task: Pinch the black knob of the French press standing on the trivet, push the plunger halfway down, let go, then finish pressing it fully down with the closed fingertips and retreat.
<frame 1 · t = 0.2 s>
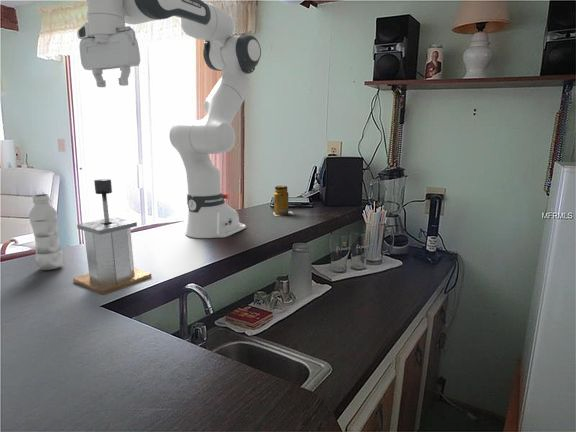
hand: (112, 86, 107), 48 cm above the countertop, tool pointing down, fingers open, 8 cm apart
white box on plank: (113, 279, 101), on the countertop
plunger: (106, 215, 97), point 16 cm above the countertop, slide at 0.0 cm
plastic bottle: (51, 269, 109), on the countertop
condiment: (283, 214, 174), on the countertop
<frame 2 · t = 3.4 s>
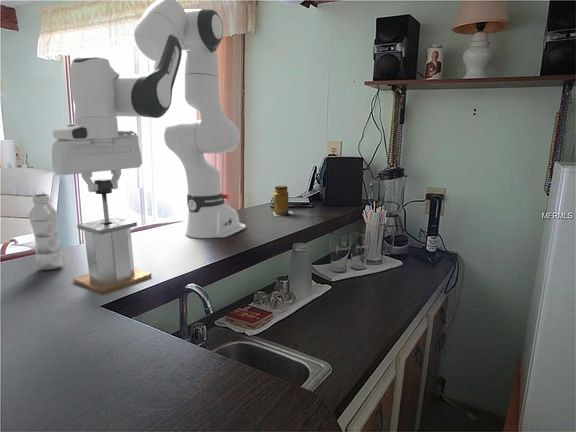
hand: (103, 190, 96), 23 cm above the countertop, tool pointing down, fingers closed on plunger, 4 cm apart
plunger: (106, 215, 97), point 16 cm above the countertop, slide at 0.0 cm, touching gripper
everything else where it was.
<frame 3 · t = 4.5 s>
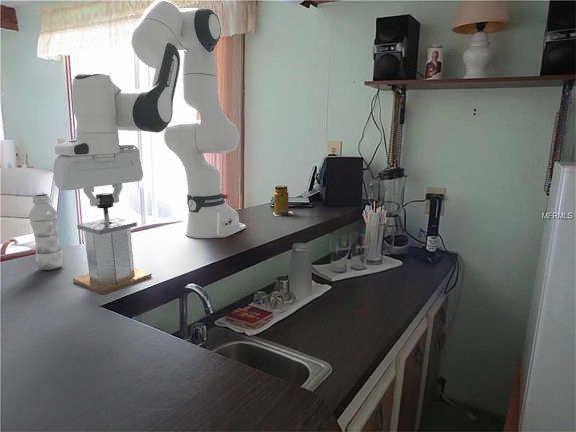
hand: (105, 204, 97), 19 cm above the countertop, tool pointing down, fingers closed on plunger, 3 cm apart
plunger: (107, 229, 98), point 13 cm above the countertop, slide at 3.4 cm, touching gripper
everything else where it was.
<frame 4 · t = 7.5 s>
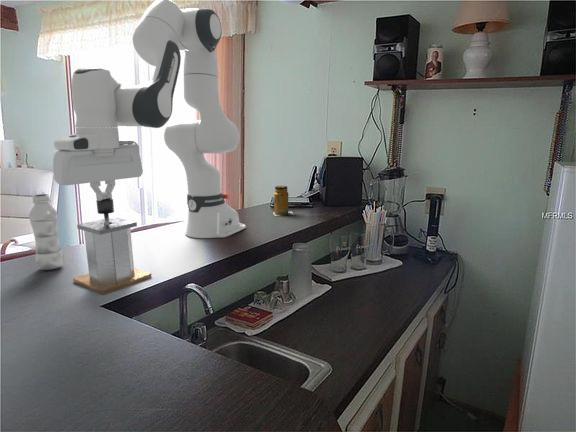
hand: (104, 199, 96), 20 cm above the countertop, tool pointing down, fingers closed, pressing on plunger
plunger: (108, 234, 98), point 12 cm above the countertop, slide at 4.7 cm, touching gripper
everything else where it was.
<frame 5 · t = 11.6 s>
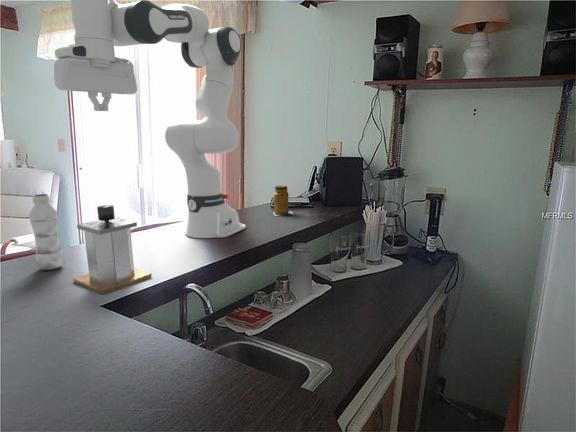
hand: (101, 111, 104), 41 cm above the countertop, tool pointing down, fingers closed
plunger: (108, 240, 99), point 10 cm above the countertop, slide at 6.4 cm
everything else where it was.
at the end: plunger slide at 6.4 cm; the gripper is holding nothing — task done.
